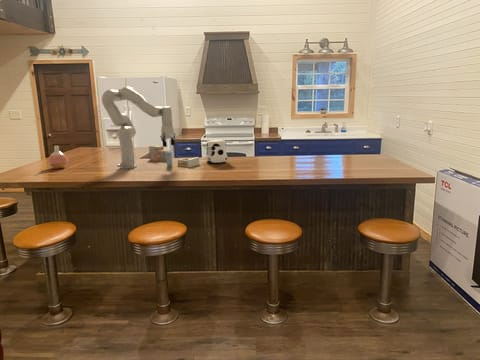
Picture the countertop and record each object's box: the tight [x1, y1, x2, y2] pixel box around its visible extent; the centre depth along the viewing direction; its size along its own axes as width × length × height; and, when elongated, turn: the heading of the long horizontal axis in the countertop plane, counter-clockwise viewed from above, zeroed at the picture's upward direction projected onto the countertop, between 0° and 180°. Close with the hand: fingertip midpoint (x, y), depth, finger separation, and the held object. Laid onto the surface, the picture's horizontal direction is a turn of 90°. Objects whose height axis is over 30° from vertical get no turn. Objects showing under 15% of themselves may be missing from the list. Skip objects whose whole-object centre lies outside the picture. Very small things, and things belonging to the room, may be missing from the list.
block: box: [177, 157, 192, 168], centre depth 278 cm, size 10×10×5 cm
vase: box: [47, 145, 69, 170], centre depth 274 cm, size 14×14×18 cm
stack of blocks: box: [148, 145, 172, 162], centre depth 305 cm, size 21×6×12 cm, turn 52°
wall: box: [187, 156, 200, 168], centre depth 275 cm, size 13×2×6 cm, turn 153°
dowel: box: [166, 151, 173, 168], centre depth 272 cm, size 4×4×12 cm
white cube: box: [205, 139, 228, 164], centre depth 288 cm, size 17×17×18 cm
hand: (168, 145), depth 270 cm, fingers open, 9 cm apart
